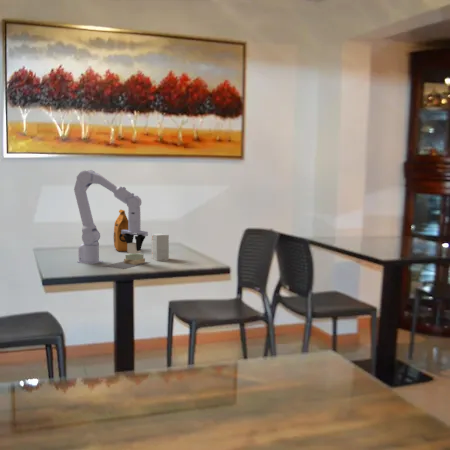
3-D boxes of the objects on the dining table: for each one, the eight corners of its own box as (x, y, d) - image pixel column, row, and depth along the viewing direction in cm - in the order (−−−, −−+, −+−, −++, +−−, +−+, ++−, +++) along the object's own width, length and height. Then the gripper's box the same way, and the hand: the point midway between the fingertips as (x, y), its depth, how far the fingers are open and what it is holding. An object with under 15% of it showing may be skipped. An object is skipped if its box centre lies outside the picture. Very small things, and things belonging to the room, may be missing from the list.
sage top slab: (125, 259, 278) (125, 254, 278) (133, 257, 283) (133, 253, 283) (135, 260, 275) (135, 256, 275) (143, 258, 280) (143, 254, 280)
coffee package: (114, 252, 314) (114, 211, 312) (113, 248, 326) (112, 209, 324) (133, 251, 316) (133, 211, 314) (131, 248, 328) (131, 209, 326)
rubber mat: (102, 266, 270) (102, 266, 270) (129, 260, 287) (129, 260, 287) (124, 269, 264) (124, 269, 264) (151, 263, 281) (151, 262, 281)
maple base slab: (124, 263, 278) (124, 259, 278) (133, 261, 284) (133, 257, 284) (135, 264, 275) (135, 260, 275) (144, 262, 281) (144, 258, 281)
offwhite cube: (127, 252, 278) (127, 243, 277) (133, 251, 282) (133, 242, 281) (134, 253, 276) (134, 244, 275) (140, 252, 280) (140, 243, 279)
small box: (168, 261, 288) (168, 234, 287) (156, 261, 286) (156, 235, 284) (163, 258, 296) (163, 232, 294) (151, 259, 293) (151, 233, 291)
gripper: (116, 221, 278) (117, 249, 279) (141, 223, 270) (141, 252, 272) (126, 220, 284) (126, 247, 285) (150, 222, 276) (150, 250, 278)
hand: (134, 250), depth 279 cm, fingers closed on offwhite cube, 4 cm apart
